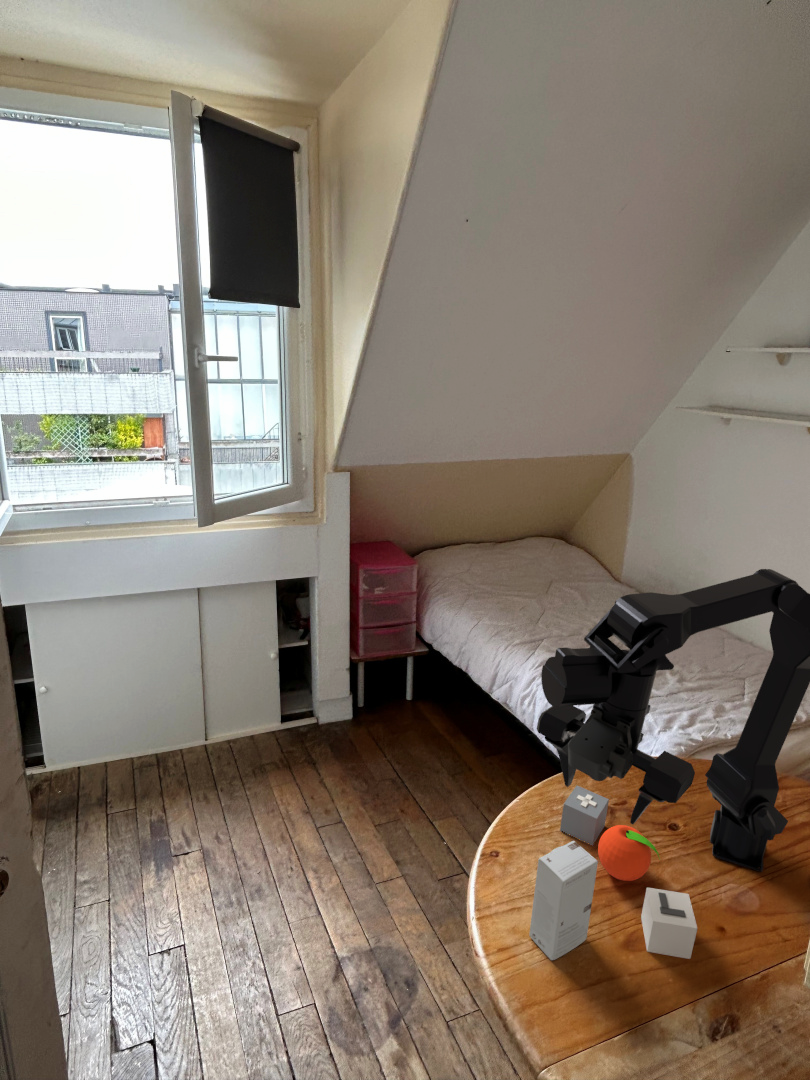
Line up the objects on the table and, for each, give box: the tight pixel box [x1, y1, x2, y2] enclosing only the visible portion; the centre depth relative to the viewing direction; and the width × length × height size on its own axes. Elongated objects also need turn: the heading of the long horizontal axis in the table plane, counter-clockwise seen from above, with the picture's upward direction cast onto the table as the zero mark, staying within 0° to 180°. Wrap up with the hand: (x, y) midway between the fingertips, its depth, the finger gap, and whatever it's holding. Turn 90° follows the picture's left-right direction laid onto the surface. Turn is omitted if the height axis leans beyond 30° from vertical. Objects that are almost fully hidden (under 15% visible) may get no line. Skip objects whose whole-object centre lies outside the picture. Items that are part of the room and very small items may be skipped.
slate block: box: [559, 785, 610, 847], centre depth 101 cm, size 5×5×5 cm
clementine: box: [597, 824, 661, 882], centre depth 93 cm, size 8×7×7 cm
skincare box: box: [529, 840, 599, 961], centre depth 82 cm, size 6×4×12 cm
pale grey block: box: [640, 887, 698, 960], centre depth 84 cm, size 5×5×5 cm
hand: (599, 803), depth 88 cm, fingers open, 9 cm apart
